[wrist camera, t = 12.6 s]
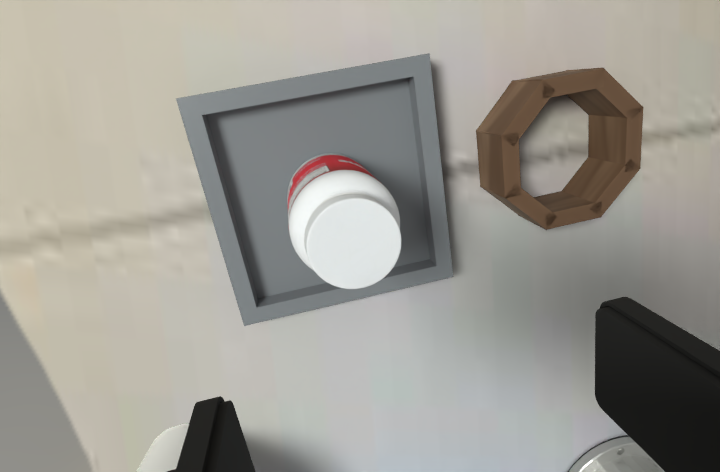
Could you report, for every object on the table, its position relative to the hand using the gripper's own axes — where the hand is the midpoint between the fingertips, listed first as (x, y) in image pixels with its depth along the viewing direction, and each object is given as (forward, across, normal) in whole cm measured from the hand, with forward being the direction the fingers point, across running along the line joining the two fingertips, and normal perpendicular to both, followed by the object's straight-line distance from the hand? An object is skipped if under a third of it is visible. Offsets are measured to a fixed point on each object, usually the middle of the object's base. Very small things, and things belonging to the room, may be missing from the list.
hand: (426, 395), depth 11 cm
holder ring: (+23, -17, 0) cm, 29 cm away
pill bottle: (+22, 0, 0) cm, 22 cm away
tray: (+23, 0, 0) cm, 23 cm away
